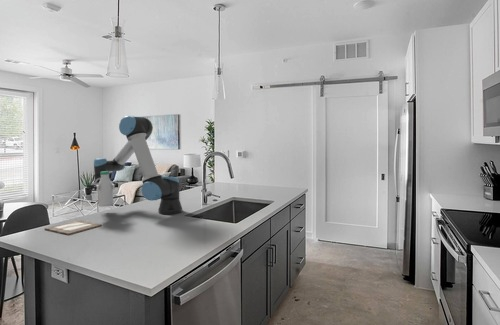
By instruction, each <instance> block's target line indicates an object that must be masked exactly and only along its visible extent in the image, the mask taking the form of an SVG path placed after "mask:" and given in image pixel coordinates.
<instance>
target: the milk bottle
mask: <svg viewBox="0 0 500 325" xmlns="http://www.w3.org/2000/svg"><path fill="white" fill-rule="evenodd" d="M100 174H101V179H100V181H99V184H98V186H99V191H97V198H98V200H97V201H98V206H99V207H109V206H110V207H111V206H113V205H114V193H113V192H114V191H113V189H112V181H111V178H110V172H109V171H102V172H100Z"/></svg>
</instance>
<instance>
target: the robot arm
mask: <svg viewBox="0 0 500 325" xmlns="http://www.w3.org/2000/svg"><path fill="white" fill-rule="evenodd" d="M153 127H154V126H153V123H152V121H151V120H150V119H148V118H147V117H143V116H134V115H126V116H124V117H122V118H121V120H120V122H119V123H118V129H119V132H120V133H121V134H122V135H123V136H125V137H126V140H127V141H126V143H125V145H124V146H123V147H122V148H121V149H120V151H119V152H118V153H117V155H116V156H114V158H113V159H112V160H107V158H95V159H94V160H93V170H94V171H93V172H94V180H93V183H90V190H93V191H97V192H98V191H99V186H98V184H99V181H100V179H101V174H100V172H102V171H109V173H110V172H119V171H123V170H124V169H125V168H126V162H127V161H128V160H129V159H131V157H132V156H133V154H135V157H136V159H137V162H138V166H139V169H140V171H141V174H142V178H143V179H142V181H141V182H142V185H141V189H140V191H141V194H142V196H143V197H144V198H145V200H148V201H152V202H153V201H158V200H160V203H159V207H158V211H157V212H158V213H159V214H161V215H175V214H179V213H180V214H181V213H182V212H183V206H182V204H181V200H180V179H179V177H176V176H162V175H161V174H159V173H158V170H157V168H156V163H155V162H154V159H153V156H152V154H151V150H150V148H149V145H148V143H147V140H148V139H149V138H150V137H151V134H152V133H153V130H154V128H153ZM111 183H112V189H113V190H115V189H116V188H119V182H116V181H111Z"/></svg>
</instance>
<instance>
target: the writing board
mask: <svg viewBox="0 0 500 325" xmlns="http://www.w3.org/2000/svg"><path fill="white" fill-rule="evenodd" d="M99 227H102V224H100V223H95V222H91V221H85V220H78V219H77V220H74V221H73V220H72V221H69V222H65V223H61V224H55V225H53V226H48V227H45V228H44V231H49V232H53V233H58V234H61V235H65V236H70V235H74V234H78V233H81V232H84V231H87V230H91V229H94V228H99Z"/></svg>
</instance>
